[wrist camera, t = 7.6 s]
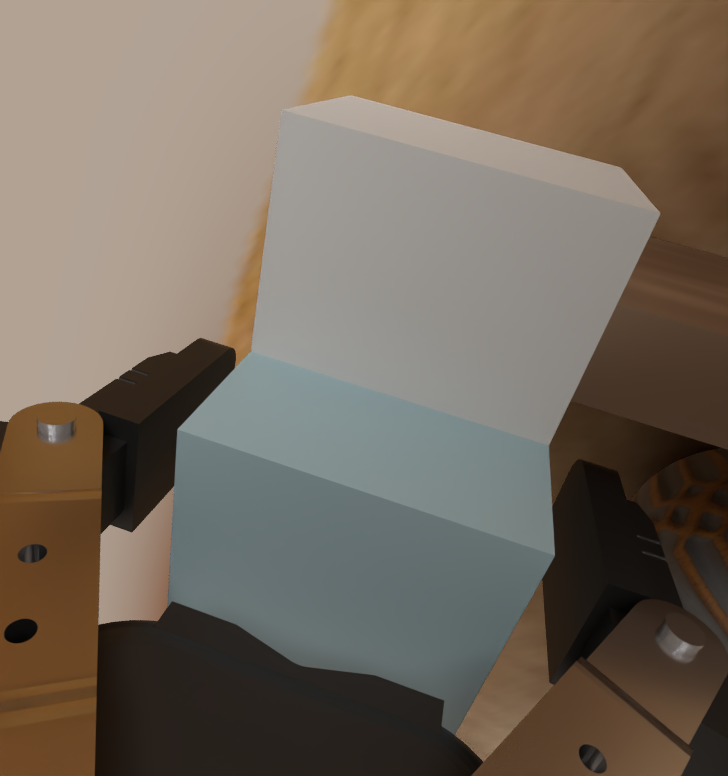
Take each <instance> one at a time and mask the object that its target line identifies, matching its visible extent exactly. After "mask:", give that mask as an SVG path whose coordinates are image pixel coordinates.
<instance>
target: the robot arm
mask: <svg viewBox="0 0 728 776" xmlns="http://www.w3.org/2000/svg"><path fill="white" fill-rule="evenodd" d="M235 361H236V353H235V350H234V349H233V348H231V347H228V346H224V345H221V344H218V343H215V342H212V341H208V340H205V339H202V338H199V339H197V340H196V341H194V342H193V343H192V344H190V345H189V346H187V347H186V348H185V349H183V350H182V351H180V352H179V353H178V354H175V353H172V352H167V353H164V354H160V355H156V356H153V357H149V358H147V359H145V360H144V361H142V362H141V363H139V364H138V365H136V366H135V367H133V368H132V370H131V371H130V370H129V371H127V372H126V373H124V374H123V375H121V376H120V377H119V379H115V380H114V381H112V382H111V383H109V384H108V385H106V386H105V387H103V388H102V389H100V390H99V391H97V392H96V393H94V394H93V395H92V396H90V397H89V398H87V399H85V400H84V401H82V402H81V403H80V404H76V403H69V402H48V403H41V404H36V405H33V406H30V407H27V408H25V409H22V410H21V411H19V412H17V413H16V414H15V415H13V416H12V417H11V419H10V420H9V422H2V421H0V776H728V653H727V651H726V649H725V647H724V645H723V644H722V642H721V641H720V639H719V638H718V637H717V635H716V634H715V633H714V632H713V631H712V630H711V629H710V628H709V627H708V626H707V625H706V624H705V623H703V622H702V621H701V620H700V619H698V618H697V617H696V616H694V615H693V614H691V613H690V612H688V611H686V610H685V609H684V608H683V606H682V603H681V600H680V597H679V594H678V591H677V589H676V586H675V583H674V580H673V577H672V574H671V571H670V569H669V566H668V563H667V561H665V558H666V557H665V554H664V552H663V549H662V546H661V545H659V543H660V540H659V537H658V534H657V532H656V529H655V526H654V523H653V522H652V520H651V519H650V518H649V517H648V516H647V514H646V513H645V512H644V511H643V510H642V508H641V507H640V506H639V505H638V503H636V502H633V501H630V500H627V499H626V497H625V494H624V490H623V487H622V484H621V480H620V477H619V474H618V472H617V471H615V470H612V469H609V468H606V467H603V466H600V465H597V464H594V463H590V462H587V461H584V460H581V459H578V460H577V461H576V462H575V463H574V464H573V466H572V468H571V470H570V472H569V474H568V476H567V478H566V480H565V482H564V484H563V486H562V488H561V490H560V492H559V494H558V496H557V498H556V500H555V503H554V505H553V507H552V512H553V529H554V547H555V556H554V558H553V560H552V562H551V564H550V565H549V567H548V569H547V571H546V573H545V574H544V576H543V578H542V581H543V595H544V610H545V624H546V638H547V653H548V667H549V681H550V683H551V684H554V686H553V687H552V688H551V689H550V690H549V692H548V693H547V694H546V695H545V696H544V697H543V698H542V699H541V700H540V701H539V702H538V703H537V705H536V706H535V707H534V708H533V709H532V710H531V711H530V712H529V713H528V714H527V715H526V717H525V718H524V719H523V720H522V721H521V722H520V723H519V724H518V725H517V726H516V727H515V729H514V730H513V731H512V732H511V733H510V734H509V735H508V736H507V737H506V738H505V739H504V741H503V742H502V743H501V744H500V745H499V746H498V747H497V748H496V749H495V750H494V751H493V753H492V754H491V755H490V756H489V757H488V758H487V759H486V760H485V761H484V762H483V761H482V760H481V759H480V758H479V757H478V756H477V755H476V754H475V753H474V752H473V751H472V750H471V749H470V748H469V747H468V746H467V745H466V744H465V743H464V742H462V741H461V740H460V739H459V738H457V737H456V736H455V735H454V734H453V733H451V732H450V731H448V730H447V729H445V728H444V727H442V717H443V708H444V700H441V699H439V698H436V697H433V696H430V695H428V694H425V693H422V692H419V691H417V690H414V689H411V688H409V687H406V686H403V685H400V684H398V683H395V682H392V681H389V680H387V679H384V678H381V677H378V676H376V675H369V674H361V673H352V672H344V671H336V670H328V669H319V668H311V667H304V666H300V665H298V664H296V663H294V662H292V661H290V660H289V659H287V658H286V657H284V656H283V655H281V654H280V653H278V652H277V651H275V650H274V649H272V648H271V647H269V646H268V645H266V644H265V643H263V642H262V641H260V640H259V639H257V638H256V637H254V636H253V635H251V634H250V633H248V632H247V631H245V630H244V629H242V628H241V627H239V626H238V625H236V624H234V623H231V622H228V621H225V620H223V619H220V618H217V617H214V616H212V615H209V614H206V613H203V612H201V611H198V610H195V609H193V608H190V607H187V606H184V605H182V604H179V603H176V602H173V601H172V602H171V603H170V605H169V606H168V608H167V609H166V610H165V612H164V613H163V615H162V616H161V618H160V619H159V620H158V621H143V620H140V621H139V620H132V621H131V620H130V621H119V622H111V623H106V624H100V625H98V617H99V613H98V612H99V577H100V576H99V575H100V536H101V533H102V532H103V531H104V530H105V529H106V528H107V527H108V526H109V525H113V526H115V527H118V528H121V529H124V530H127V531H130V532H133V531H134V530H135V529H136V528H137V526H138V525H139V524H140V523H141V522H142V521H143V520H144V519H145V518H146V516H147V515H148V514H149V513H150V512H151V511H152V510H153V509H154V508H155V507H156V505H157V504H158V503H159V502H160V501H161V500H162V499H163V498H164V497H165V495H166V494H167V493H168V492H169V491H170V490H171V489H172V488H173V486H174V481H175V463H176V445H177V429H178V428H179V427H180V426H181V425H182V424H183V423H184V422H185V421H186V420H187V419H188V418H189V417H190V416H191V415H192V413H193V412H194V411H195V410H196V409H197V408H198V407H199V406H200V405H201V404H202V403H203V402H204V401H205V400H206V399H207V397H208V396H209V395H210V394H211V393H212V392H213V391H214V390H215V389H216V388H217V387H218V386H219V385H220V384H221V383H222V382H223V380H224V379H225V378H226V377H227V376H228V375H229V374H230V373H231V372H232V371H233V370H234V368H235Z"/></svg>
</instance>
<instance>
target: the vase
mask: <svg viewBox="0 0 728 776" xmlns="http://www.w3.org/2000/svg"><path fill="white" fill-rule="evenodd" d="M631 501H633V502H636V503H638V505H639V506H640V507H641V508H642V510H643V511H644V512H645V513H646V514H647V516H648V517H649V518H650V519H651V520H652V522H653V523H654V526H655V529H656V532H657V534H658V537H659V540H660V543H659V545H661V546H662V549H663V552H664V554H665V557H666V558H665V561H667V563H668V566H669V569H670V571H671V574H672V577H673V580H674V583H675V586H676V589H677V591H678V594H679V597H680V600H681V603H682V606H683V608H684V609H685V610H686V611H688V612H690V613H691V614H693V615H694V616H696V617H697V618H698V619H700V620H701V621H702V622H703V623H705V624H706V625H707V626H708V627H709V628H710V629H711V630H712V631H713V632H714V633H715V634H716V635H717V637H718V638H719V639H720V641H721V642H722V644H723V645H724V647H725V649H726V651H727V653H728V449H724V448H721V449H714V450H709V451H704V452H701V453H697V454H694V455H691V456H688V457H685V458H683V459H680V460H678V461H676V462H674V463H672V464H670V465H668V466H667V467H665V468H663V469H662V470H660V471H659V472H657V473H656V474H655V475H653V476H652V477H651V478H650V479H649V480H647V481H646V482H645V483H644V484H643V485H642V486H641V487H640V489H639V490H638V491H637V492H636V493H635V495H634V496H633V498H632V499H631Z"/></svg>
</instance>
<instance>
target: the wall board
mask: <svg viewBox="0 0 728 776" xmlns="http://www.w3.org/2000/svg"><path fill="white" fill-rule="evenodd" d="M571 401H572V402H575V403H579V404H582V405H585V406H588V407H591V408H595V409H598V410H601V411H604V412H608V413H611V414H614V415H617V416H621V417H624V418H627V419H630V420H634V421H637V422H640V423H643V424H647V425H650V426H653V427H656V428H660V429H663V430H666V431H669V432H673V433H676V434H679V435H682V436H685V437H689V438H692V439H695V440H698V441H702V442H705V443H708V444H711V445H715V446H718V447H721V448H724V449H728V258H725V257H722V256H718V255H714V254H711V253H707V252H704V251H700V250H696V249H693V248H689V247H685V246H682V245H678V244H675V243H671V242H667V241H664V240H660V239H657V238H653V237H649V239H648V241H647V243H646V245H645V247H644V249H643V251H642V253H641V256H640V258H639V260H638V262H637V264H636V266H635V268H634V270H633V272H632V274H631V276H630V278H629V280H628V282H627V285H626V287H625V289H624V291H623V293H622V295H621V297H620V299H619V301H618V303H617V305H616V307H615V309H614V312H613V314H612V316H611V318H610V320H609V322H608V324H607V326H606V328H605V330H604V332H603V334H602V336H601V339H600V341H599V343H598V345H597V347H596V349H595V351H594V353H593V355H592V357H591V359H590V361H589V363H588V365H587V368H586V370H585V372H584V374H583V376H582V378H581V380H580V382H579V384H578V386H577V388H576V390H575V392H574V395H573V397H572V399H571Z"/></svg>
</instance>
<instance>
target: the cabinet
mask: <svg viewBox="0 0 728 776" xmlns="http://www.w3.org/2000/svg"><path fill="white" fill-rule="evenodd" d="M660 214H661V213H660V212H659V211H658V210H657V209H656V207H655V206H654V205H653V204H652V203H651V202H650V200H649V199H648V198H647V197H646V196H645V195H644V193H643V192H642V191H641V190H640V189H639V188H638V186H637V185H636V184H635V183H634V182H633V181H632V179H631V178H630V177H629V176H628V175H627V174H626V172H625V171H624V170H623V169H622V168H621V167H618V166H614V165H610V164H606V163H603V162H599V161H595V160H591V159H588V158H584V157H580V156H576V155H573V154H569V153H565V152H561V151H558V150H554V149H550V148H547V147H543V146H539V145H535V144H532V143H528V142H524V141H520V140H517V139H513V138H509V137H505V136H502V135H498V134H494V133H490V132H487V131H483V130H479V129H475V128H472V127H468V126H464V125H460V124H457V123H453V122H449V121H446V120H442V119H438V118H434V117H431V116H427V115H423V114H419V113H416V112H412V111H408V110H404V109H401V108H397V107H393V106H389V105H386V104H382V103H378V102H374V101H371V100H367V99H363V98H360V97H356V96H352V95H349V96H344V97H340V98H335V99H330V100H326V101H321V102H316V103H311V104H307V105H302V106H297V107H293V108H288V109H283V110H281V117H280V125H279V133H278V141H277V149H276V156H275V164H274V172H273V180H272V188H271V196H270V204H269V212H268V219H267V227H266V235H265V243H264V251H263V259H262V267H261V275H260V283H259V290H258V298H257V306H256V314H255V322H254V330H253V338H252V346H251V352H250V353H249V354H248V355H247V356H246V357H245V358H244V359H243V360H242V361H241V362H240V363H239V365H238V366H237V367H236V368H235V369H234V370H233V371H232V372H231V373H230V374H229V375H228V376H227V377H226V378H225V379H224V380H223V382H222V383H221V384H220V385H219V386H218V387H217V388H216V389H215V390H214V391H213V392H212V393H211V394H210V395H209V396H208V397H207V399H206V400H205V401H204V402H203V403H202V404H201V405H200V406H199V407H198V408H197V409H196V410H195V411H194V412H193V413H192V415H191V416H190V417H189V418H188V419H187V420H186V421H185V422H184V423H183V424H182V425H181V426H180V427H179V428H178V429H177V445H176V463H175V481H174V499H173V518H172V535H171V553H170V571H169V573H170V574H169V589H168V606H169V605H170V603H171V602H172V601H173V602H176V603H179V604H182V605H184V606H187V607H190V608H193V609H195V610H198V611H201V612H203V613H206V614H209V615H212V616H214V617H217V618H220V619H223V620H225V621H228V622H231V623H234V624H236V625H238V626H239V627H241V628H242V629H244V630H245V631H247V632H248V633H250V634H251V635H253V636H254V637H256V638H257V639H259V640H260V641H262V642H263V643H265V644H266V645H268V646H269V647H271V648H272V649H274V650H275V651H277V652H278V653H280V654H281V655H283V656H284V657H286V658H287V659H289V660H290V661H292V662H294V663H296V664H298V665H300V666H304V667H311V668H319V669H328V670H336V671H344V672H352V673H361V674H369V675H376V676H378V677H381V678H384V679H387V680H389V681H392V682H395V683H398V684H400V685H403V686H406V687H409V688H411V689H414V690H417V691H419V692H422V693H425V694H428V695H430V696H433V697H436V698H439V699H441V700H444V708H443V717H442V727H444V728H445V729H447V730H448V731H450V732H451V733H453V734H454V735H455V733H456V732H457V730H458V728H459V726H460V725H461V723H462V721H463V719H464V717H465V716H466V714H467V712H468V710H469V708H470V707H471V705H472V703H473V701H474V700H475V698H476V696H477V694H478V692H479V691H480V689H481V687H482V685H483V683H484V682H485V680H486V678H487V676H488V674H489V673H490V671H491V669H492V667H493V666H494V664H495V662H496V660H497V658H498V657H499V655H500V653H501V651H502V649H503V648H504V646H505V644H506V642H507V641H508V639H509V637H510V635H511V633H512V632H513V630H514V628H515V626H516V624H517V623H518V621H519V619H520V617H521V615H522V614H523V612H524V610H525V608H526V607H527V605H528V603H529V601H530V599H531V598H532V596H533V594H534V592H535V590H536V589H537V587H538V585H539V583H540V582H541V580H542V578H543V576H544V574H545V573H546V571H547V569H548V567H549V565H550V564H551V562H552V560H553V558H554V556H555V547H554V529H553V512H552V494H551V476H550V458H549V444H550V442H551V440H552V438H553V436H554V434H555V432H556V430H557V428H558V426H559V424H560V422H561V419H562V417H563V415H564V413H565V411H566V409H567V407H568V405H569V403H570V401H571V399H572V397H573V395H574V392H575V390H576V388H577V386H578V384H579V382H580V380H581V378H582V376H583V374H584V372H585V370H586V368H587V365H588V363H589V361H590V359H591V357H592V355H593V353H594V351H595V349H596V347H597V345H598V343H599V341H600V339H601V336H602V334H603V332H604V330H605V328H606V326H607V324H608V322H609V320H610V318H611V316H612V314H613V312H614V309H615V307H616V305H617V303H618V301H619V299H620V297H621V295H622V293H623V291H624V289H625V287H626V285H627V282H628V280H629V278H630V276H631V274H632V272H633V270H634V268H635V266H636V264H637V262H638V260H639V258H640V256H641V253H642V251H643V249H644V247H645V245H646V243H647V241H648V239H649V237H650V235H651V233H652V231H653V229H654V226H655V224H656V222H657V220H658V218H659V216H660Z"/></svg>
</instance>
